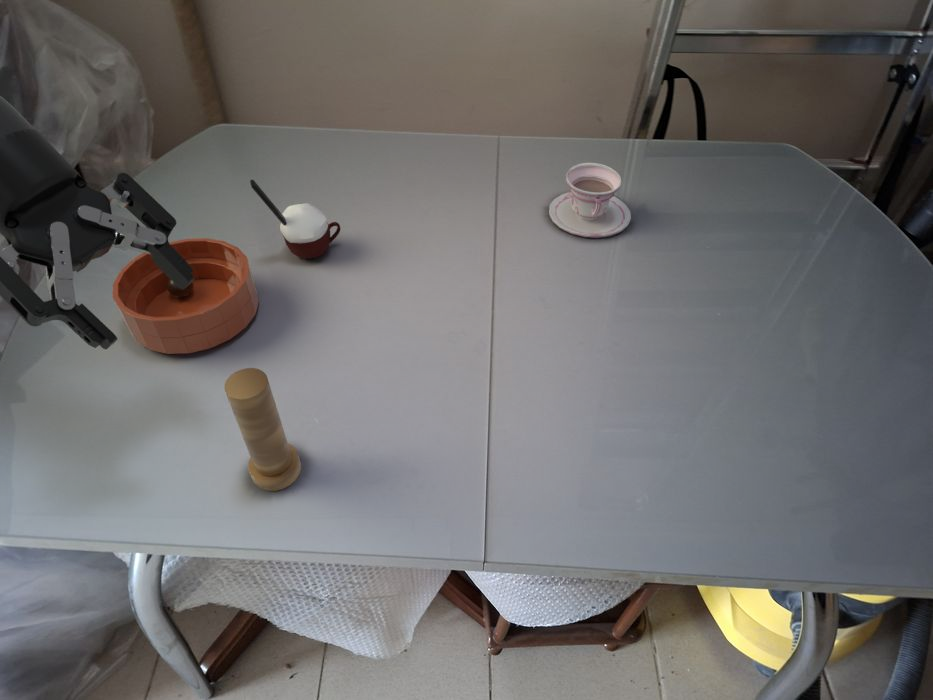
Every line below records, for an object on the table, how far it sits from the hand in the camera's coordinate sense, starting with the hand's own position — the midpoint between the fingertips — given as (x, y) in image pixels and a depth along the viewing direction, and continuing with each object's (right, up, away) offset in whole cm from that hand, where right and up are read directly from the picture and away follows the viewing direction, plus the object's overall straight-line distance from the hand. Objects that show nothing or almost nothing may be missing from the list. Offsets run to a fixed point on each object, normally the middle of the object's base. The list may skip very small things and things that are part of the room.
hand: (152, 313), depth 55 cm
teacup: (+45, +17, +41) cm, 63 cm away
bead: (-9, +5, +26) cm, 28 cm away
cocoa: (+5, +10, +35) cm, 37 cm away
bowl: (-7, +1, +26) cm, 27 cm away
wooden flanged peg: (+8, -15, +10) cm, 19 cm away
